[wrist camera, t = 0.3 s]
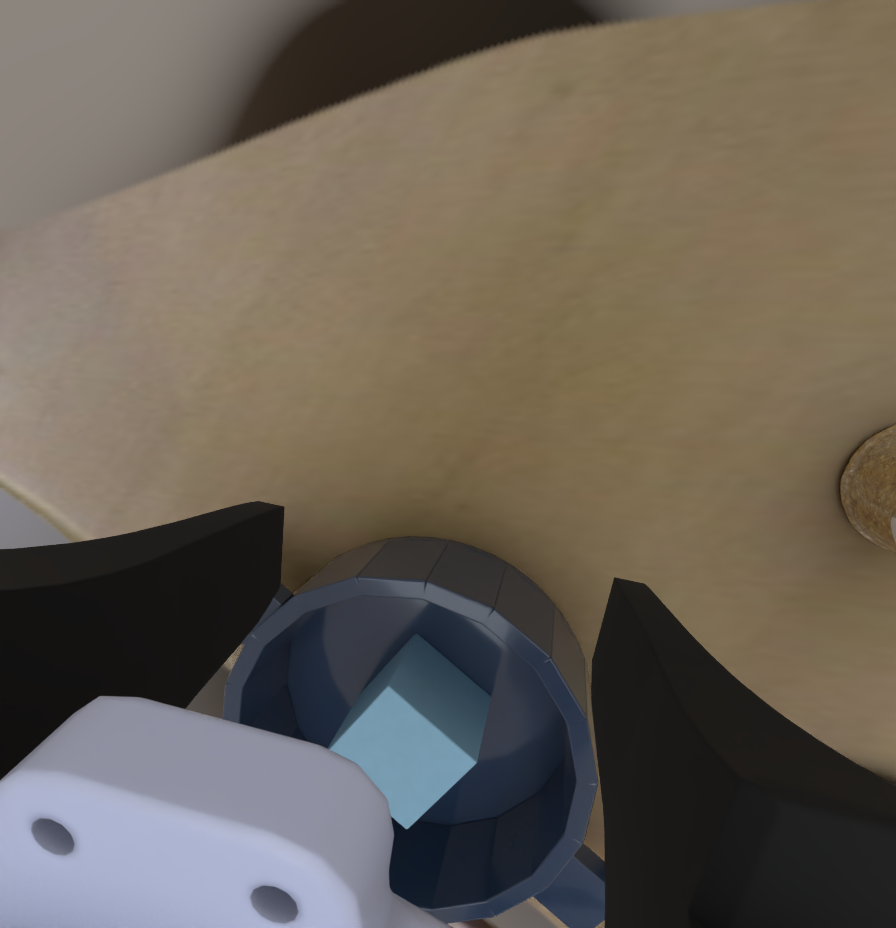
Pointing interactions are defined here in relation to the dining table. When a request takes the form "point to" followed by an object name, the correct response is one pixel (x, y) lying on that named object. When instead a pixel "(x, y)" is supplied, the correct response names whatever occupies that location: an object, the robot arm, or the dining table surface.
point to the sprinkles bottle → (873, 489)
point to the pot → (506, 729)
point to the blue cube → (415, 729)
